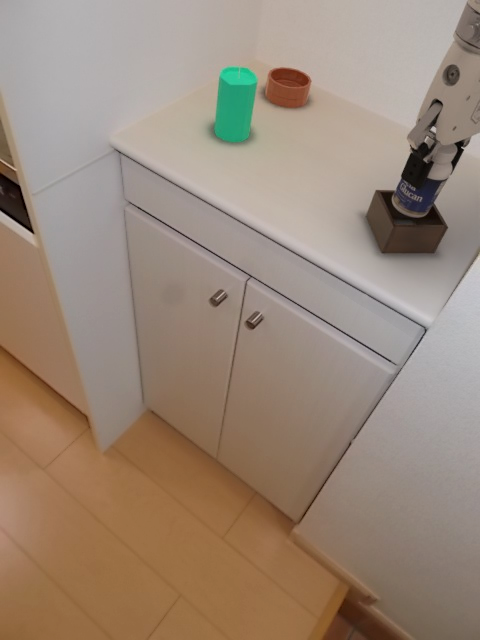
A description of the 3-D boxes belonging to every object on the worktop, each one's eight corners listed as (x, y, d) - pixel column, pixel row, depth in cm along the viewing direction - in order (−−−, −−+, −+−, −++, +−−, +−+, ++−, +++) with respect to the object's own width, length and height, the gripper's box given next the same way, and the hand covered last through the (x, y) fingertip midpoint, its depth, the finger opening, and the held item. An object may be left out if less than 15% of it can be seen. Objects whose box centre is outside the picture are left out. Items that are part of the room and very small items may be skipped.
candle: (223, 123, 91) (231, 52, 82) (254, 135, 90) (265, 64, 81) (207, 138, 88) (213, 66, 78) (239, 150, 86) (249, 78, 77)
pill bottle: (384, 205, 71) (414, 142, 64) (399, 188, 75) (429, 126, 67) (419, 224, 70) (455, 162, 63) (433, 206, 73) (468, 145, 66)
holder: (413, 221, 80) (427, 190, 76) (431, 257, 75) (448, 227, 71) (363, 220, 78) (375, 189, 74) (379, 257, 73) (393, 226, 69)
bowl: (301, 91, 103) (306, 68, 99) (309, 113, 98) (315, 89, 94) (261, 89, 101) (265, 66, 98) (268, 110, 96) (272, 87, 93)
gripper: (476, 59, 49) (405, 212, 63) (566, 33, 57) (486, 174, 71) (415, 27, 52) (361, 179, 66) (508, 6, 61) (442, 146, 74)
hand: (426, 175), depth 68 cm, fingers closed on pill bottle, 5 cm apart
